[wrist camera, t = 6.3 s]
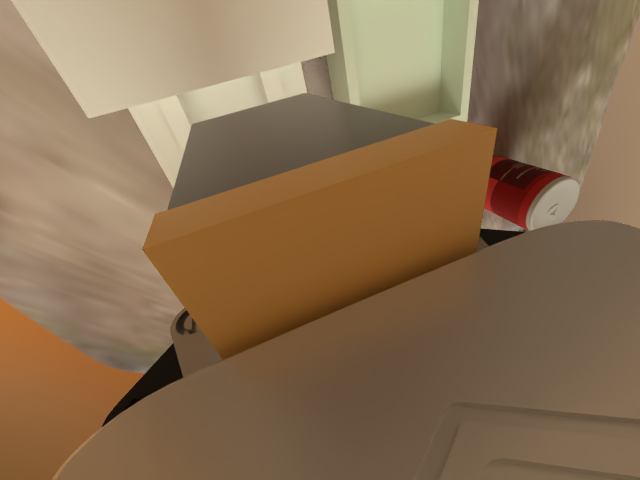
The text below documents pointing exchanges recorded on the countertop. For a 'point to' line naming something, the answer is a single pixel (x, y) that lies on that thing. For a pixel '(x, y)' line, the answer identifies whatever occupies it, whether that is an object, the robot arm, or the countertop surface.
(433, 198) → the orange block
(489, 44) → the countertop surface
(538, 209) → the canned food
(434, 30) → the tray
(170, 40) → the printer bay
